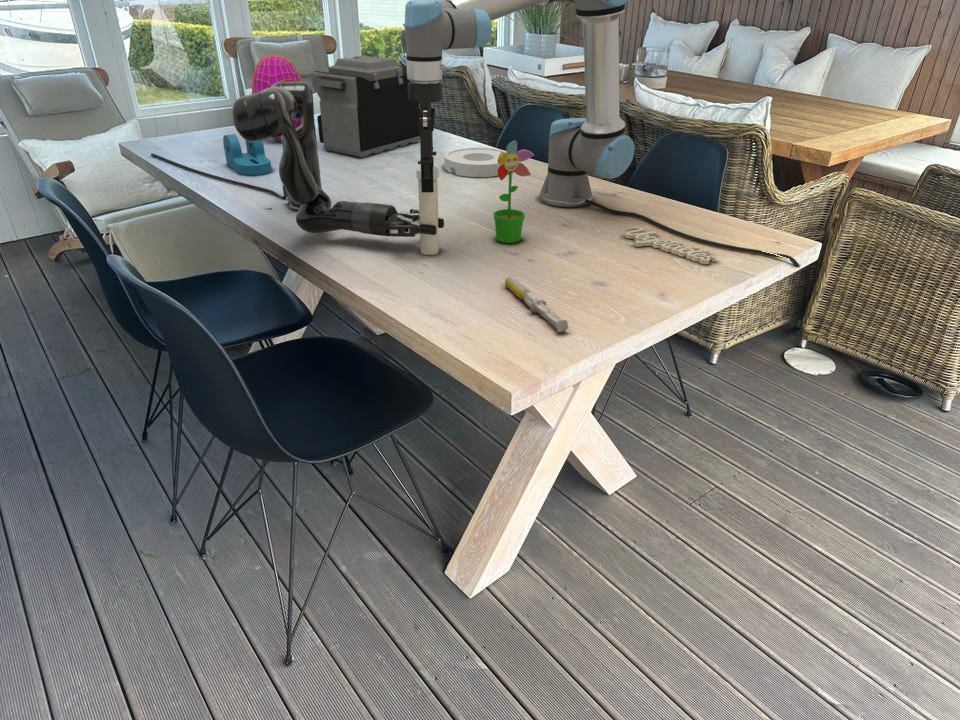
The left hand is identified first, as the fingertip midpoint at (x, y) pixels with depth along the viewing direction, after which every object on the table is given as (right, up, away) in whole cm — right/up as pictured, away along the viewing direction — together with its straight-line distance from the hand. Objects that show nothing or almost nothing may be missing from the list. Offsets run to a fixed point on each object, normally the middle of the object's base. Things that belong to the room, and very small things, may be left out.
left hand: (439, 226), depth 163 cm
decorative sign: (+56, -4, +8) cm, 56 cm away
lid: (-2, +12, -6) cm, 13 cm away
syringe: (+21, -21, -22) cm, 37 cm away
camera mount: (-67, +32, +66) cm, 99 cm away
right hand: (-2, +8, -4) cm, 9 cm away
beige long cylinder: (-3, -5, +4) cm, 7 cm away
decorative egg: (-66, +53, +102) cm, 132 cm away
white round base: (+9, +34, +70) cm, 78 cm away
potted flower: (+17, -1, +12) cm, 21 cm away
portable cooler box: (-31, +49, +95) cm, 111 cm away
